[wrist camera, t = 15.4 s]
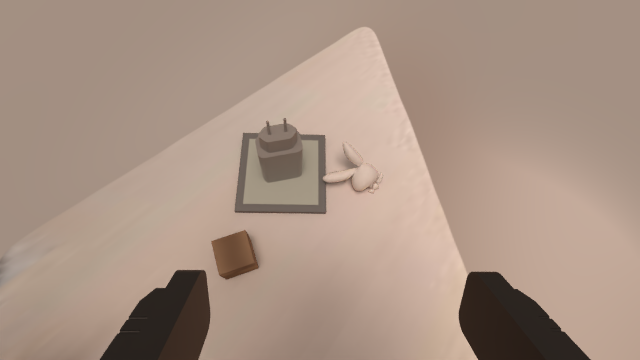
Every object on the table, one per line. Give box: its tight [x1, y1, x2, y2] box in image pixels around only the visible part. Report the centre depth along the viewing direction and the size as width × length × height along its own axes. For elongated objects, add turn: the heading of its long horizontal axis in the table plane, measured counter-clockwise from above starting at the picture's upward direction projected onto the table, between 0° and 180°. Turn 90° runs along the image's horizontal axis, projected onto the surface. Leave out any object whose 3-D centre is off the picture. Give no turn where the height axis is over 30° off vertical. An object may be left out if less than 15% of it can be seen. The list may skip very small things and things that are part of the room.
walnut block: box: [211, 230, 258, 279], centre depth 38 cm, size 4×4×4 cm
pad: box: [235, 133, 326, 214], centre depth 45 cm, size 12×12×1 cm
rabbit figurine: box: [323, 142, 383, 193], centre depth 44 cm, size 6×4×8 cm
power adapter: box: [255, 118, 303, 183], centre depth 39 cm, size 3×5×12 cm, turn 103°
